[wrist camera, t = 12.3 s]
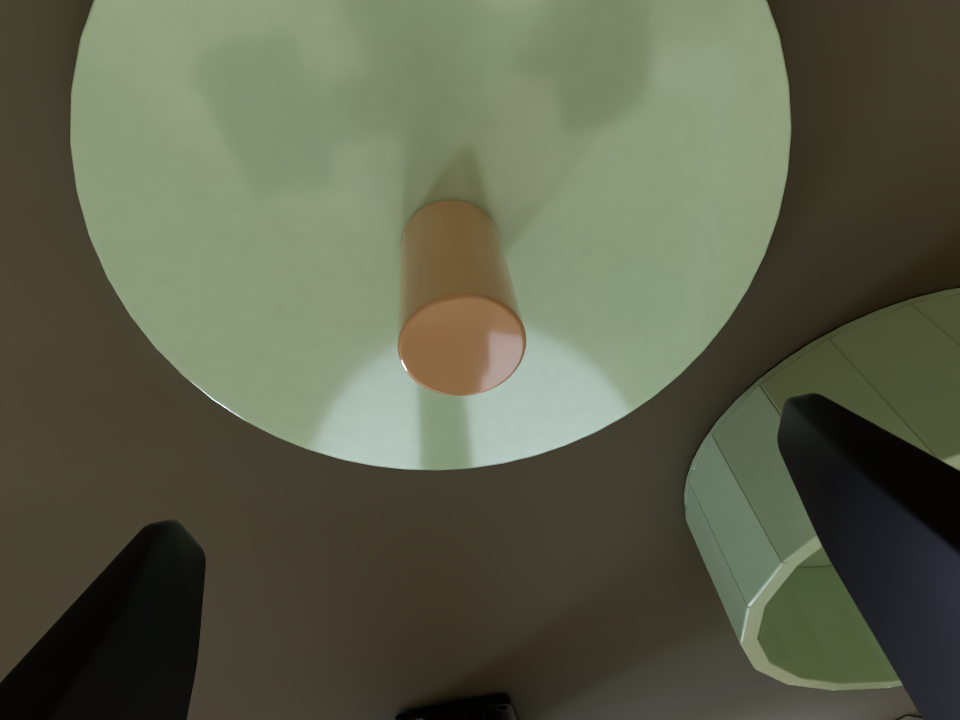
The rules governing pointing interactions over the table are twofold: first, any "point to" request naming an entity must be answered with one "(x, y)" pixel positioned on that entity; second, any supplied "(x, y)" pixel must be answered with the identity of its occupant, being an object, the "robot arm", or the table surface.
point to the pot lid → (430, 206)
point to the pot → (776, 503)
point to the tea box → (910, 718)
